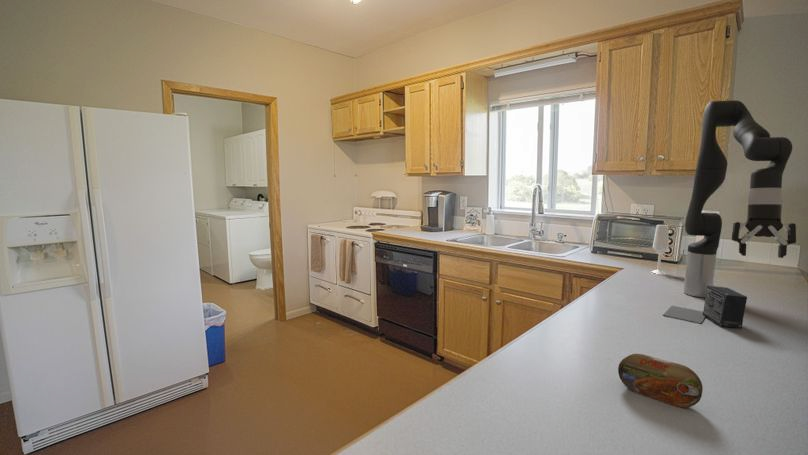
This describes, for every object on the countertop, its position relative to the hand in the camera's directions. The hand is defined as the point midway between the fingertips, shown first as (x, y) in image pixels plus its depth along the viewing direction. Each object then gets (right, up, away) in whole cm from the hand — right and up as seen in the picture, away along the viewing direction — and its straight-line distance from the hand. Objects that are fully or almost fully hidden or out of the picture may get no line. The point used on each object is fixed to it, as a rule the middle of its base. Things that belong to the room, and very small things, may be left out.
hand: (761, 256), depth 118 cm
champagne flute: (+17, -14, +74) cm, 77 cm away
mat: (-12, -21, +15) cm, 29 cm away
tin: (-55, -28, -35) cm, 71 cm away
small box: (-5, -22, +8) cm, 24 cm away
